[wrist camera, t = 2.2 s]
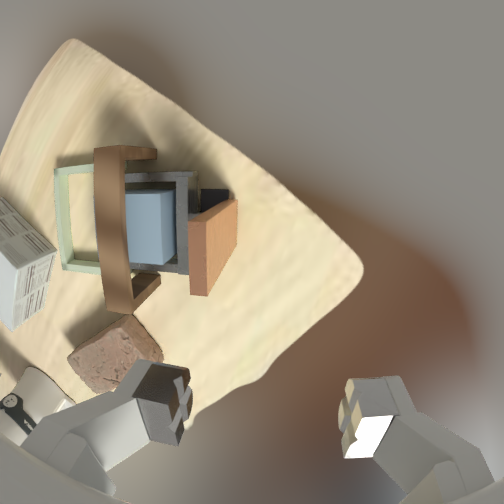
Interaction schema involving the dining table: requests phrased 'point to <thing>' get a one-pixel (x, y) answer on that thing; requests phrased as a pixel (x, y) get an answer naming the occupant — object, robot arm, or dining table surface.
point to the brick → (113, 354)
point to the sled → (195, 232)
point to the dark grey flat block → (212, 198)
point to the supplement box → (22, 268)
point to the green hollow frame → (64, 221)
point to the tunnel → (118, 229)
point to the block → (150, 225)
